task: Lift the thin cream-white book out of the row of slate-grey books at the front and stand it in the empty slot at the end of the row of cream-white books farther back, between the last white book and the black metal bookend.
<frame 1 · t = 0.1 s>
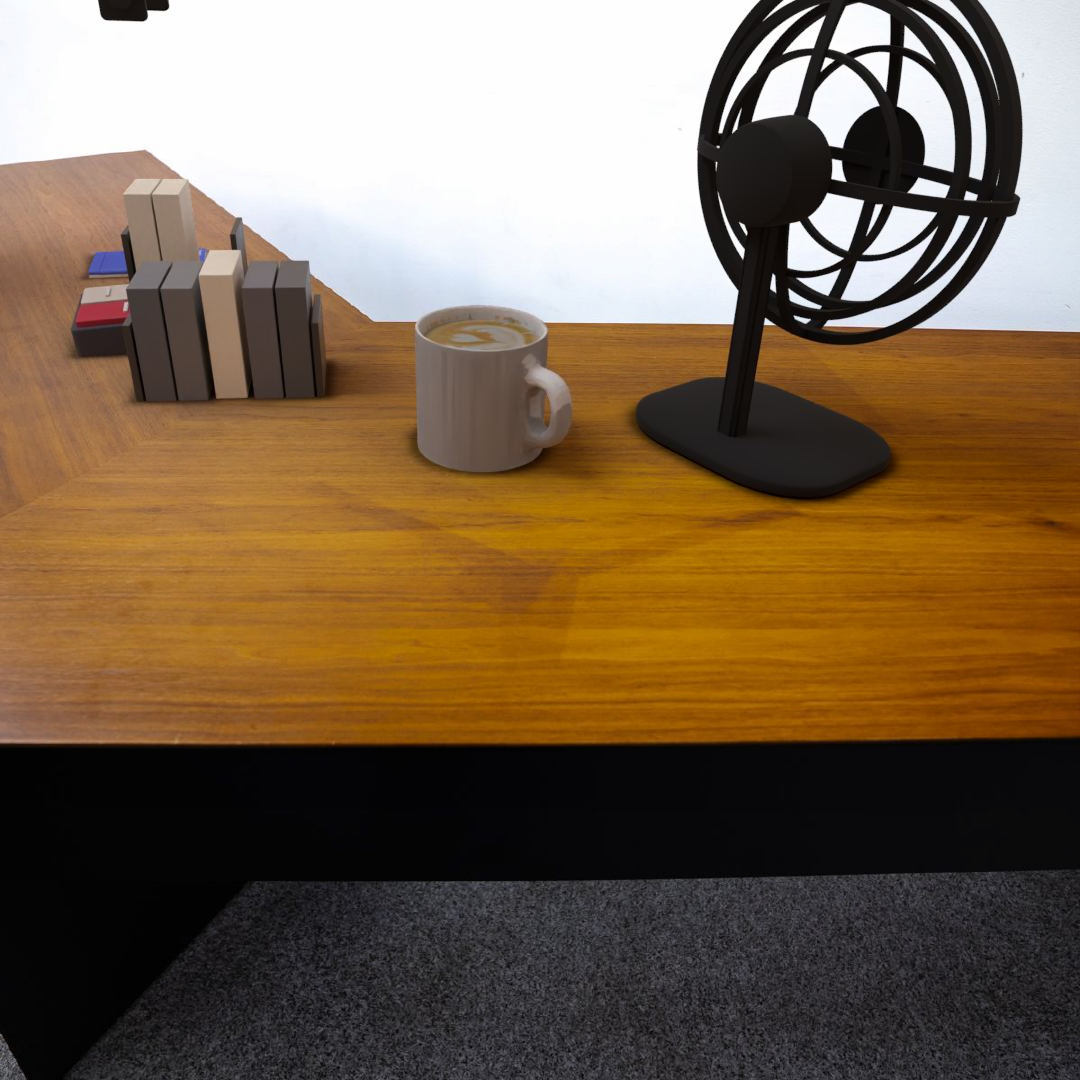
hand: (137, 15, 75), 28 cm above the table, tool pointing down, fingers open, 9 cm apart
grey books: (236, 386, 86), on the table
white books: (186, 290, 108), on the table
coffee mug: (493, 457, 77), on the table
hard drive: (152, 273, 114), on the table
desk fan: (766, 442, 82), on the table
white book: (236, 386, 86), on the table
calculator: (166, 337, 96), on the table
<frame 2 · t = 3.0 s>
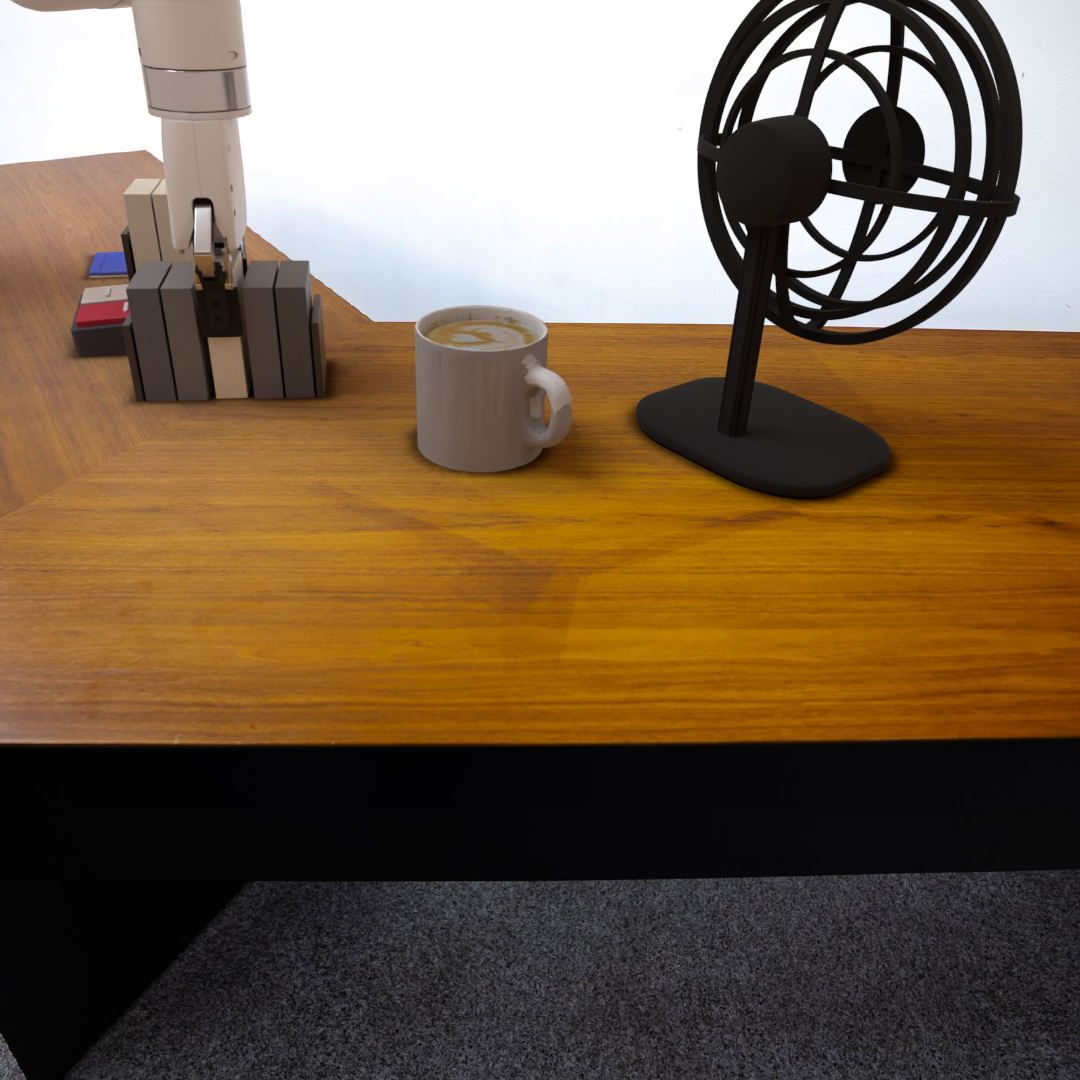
hand: (227, 318, 83), 6 cm above the table, tool pointing down, fingers closed on white book, 7 cm apart
white book: (236, 386, 86), on the table, touching gripper
everything else where it was.
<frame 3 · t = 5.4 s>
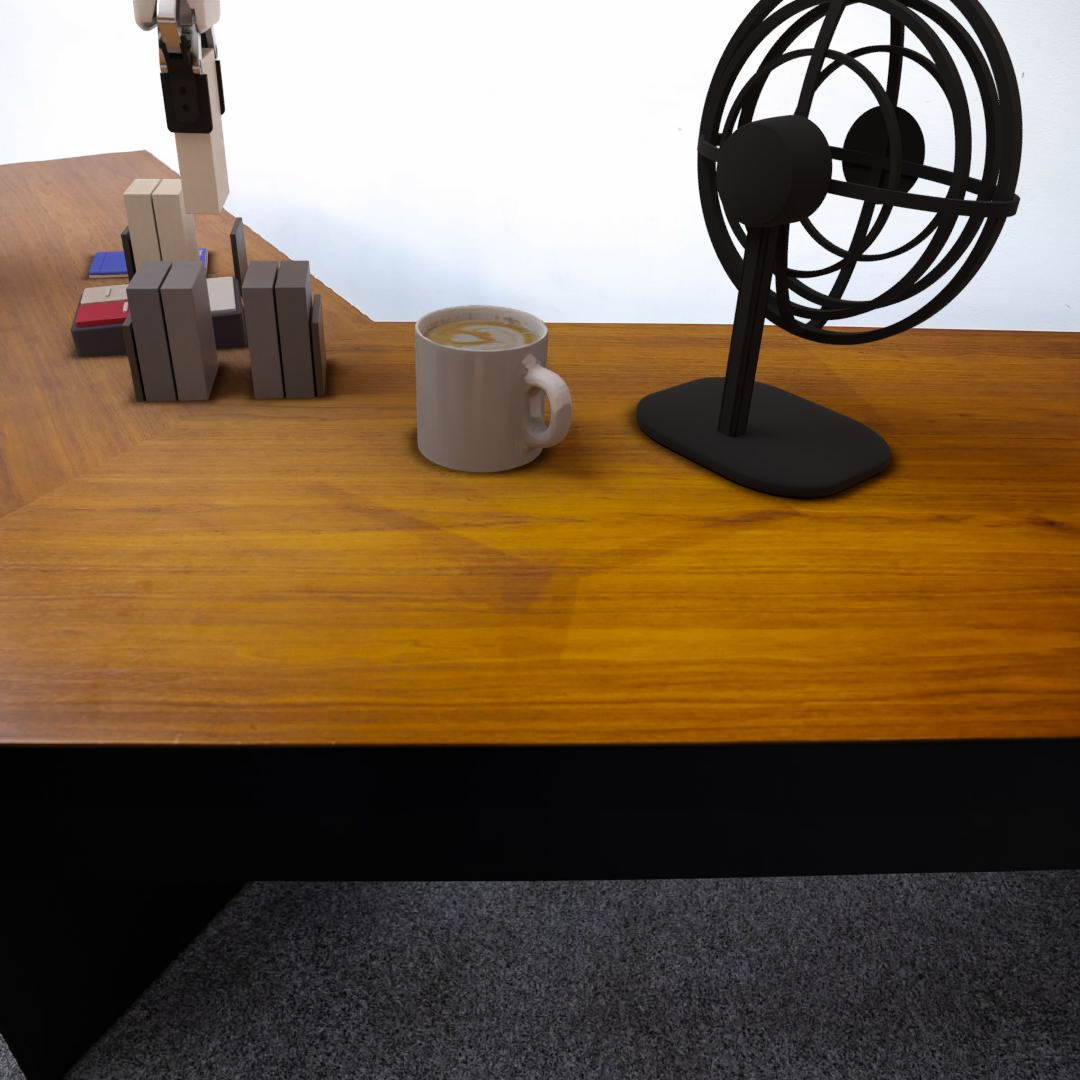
hand: (198, 121, 76), 22 cm above the table, tool pointing down, fingers closed on white book, 7 cm apart
white book: (208, 203, 79), point 15 cm above the table, touching gripper
everything else where it was.
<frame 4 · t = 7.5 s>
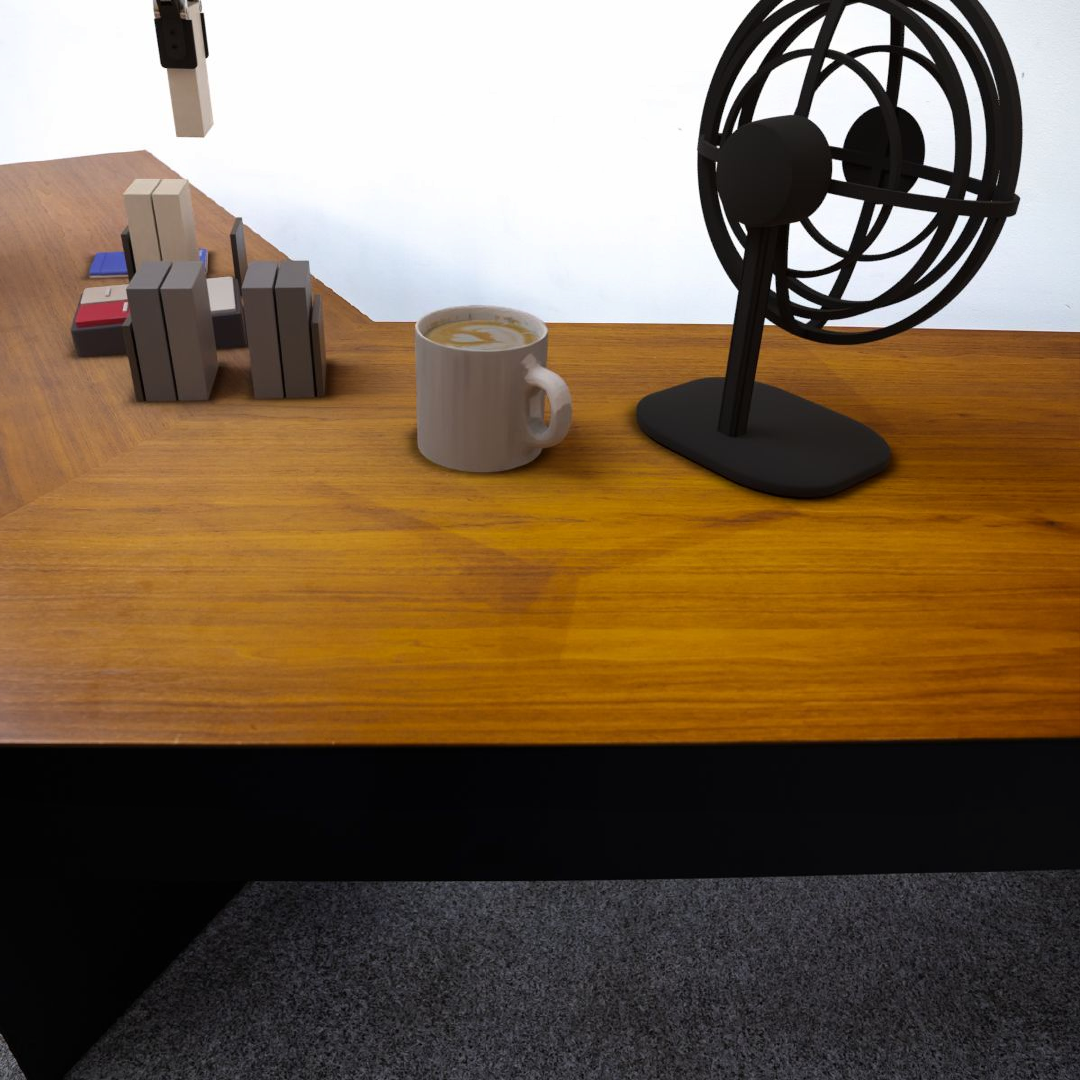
hand: (185, 61, 93), 23 cm above the table, tool pointing down, fingers closed on white book, 7 cm apart
white book: (195, 130, 97), point 17 cm above the table, touching gripper
everything else where it was.
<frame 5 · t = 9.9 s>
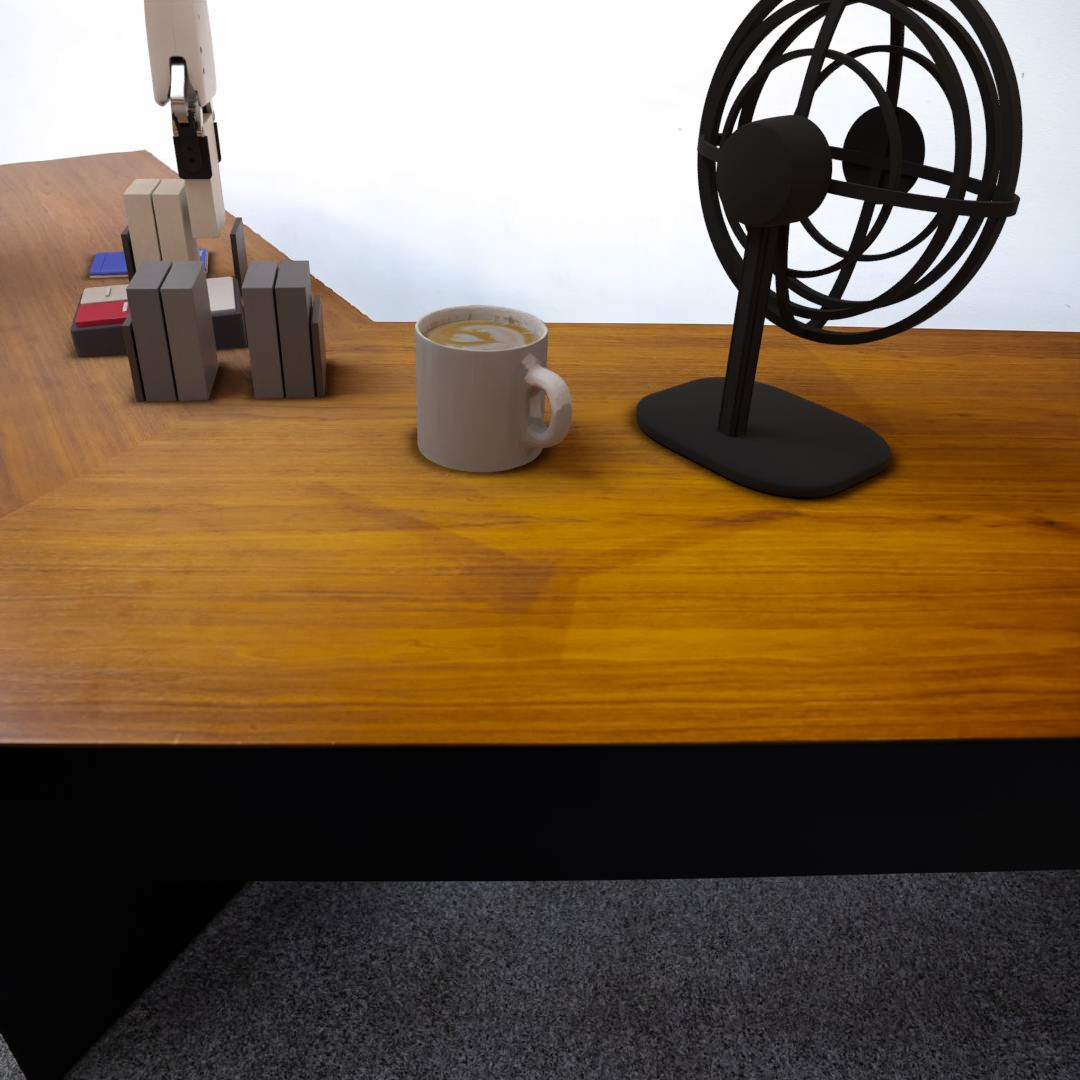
hand: (201, 168, 101), 13 cm above the table, tool pointing down, fingers closed on white book, 7 cm apart
white book: (210, 229, 105), point 7 cm above the table, touching gripper
everything else where it was.
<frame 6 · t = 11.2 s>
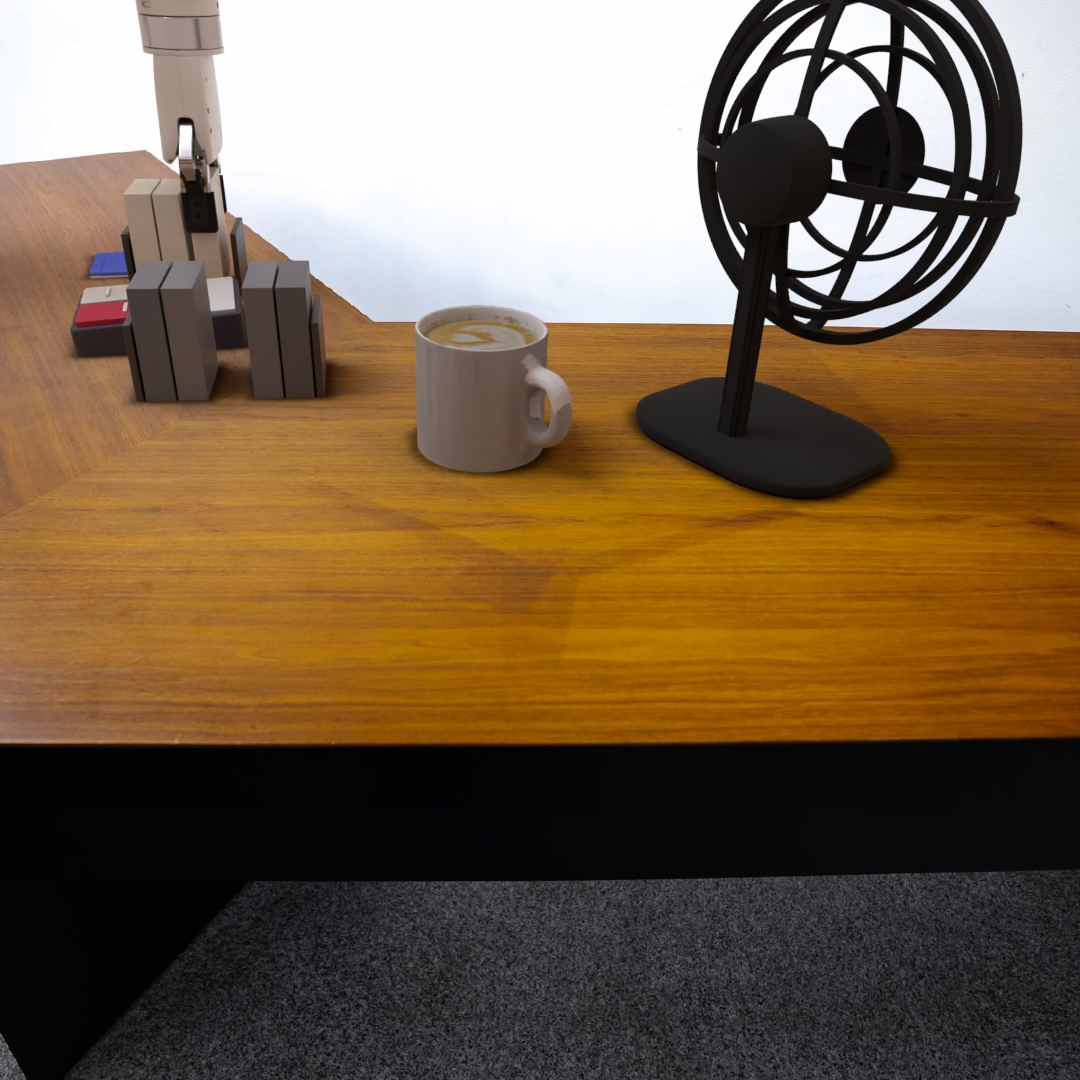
hand: (207, 221, 104), 7 cm above the table, tool pointing down, fingers closed on white book, 7 cm apart
white book: (215, 278, 108), point 1 cm above the table, touching gripper
everything else where it was.
when the fingers open (6 cm above the table, at t = 12.1 s): white book stays where it is, on the table.
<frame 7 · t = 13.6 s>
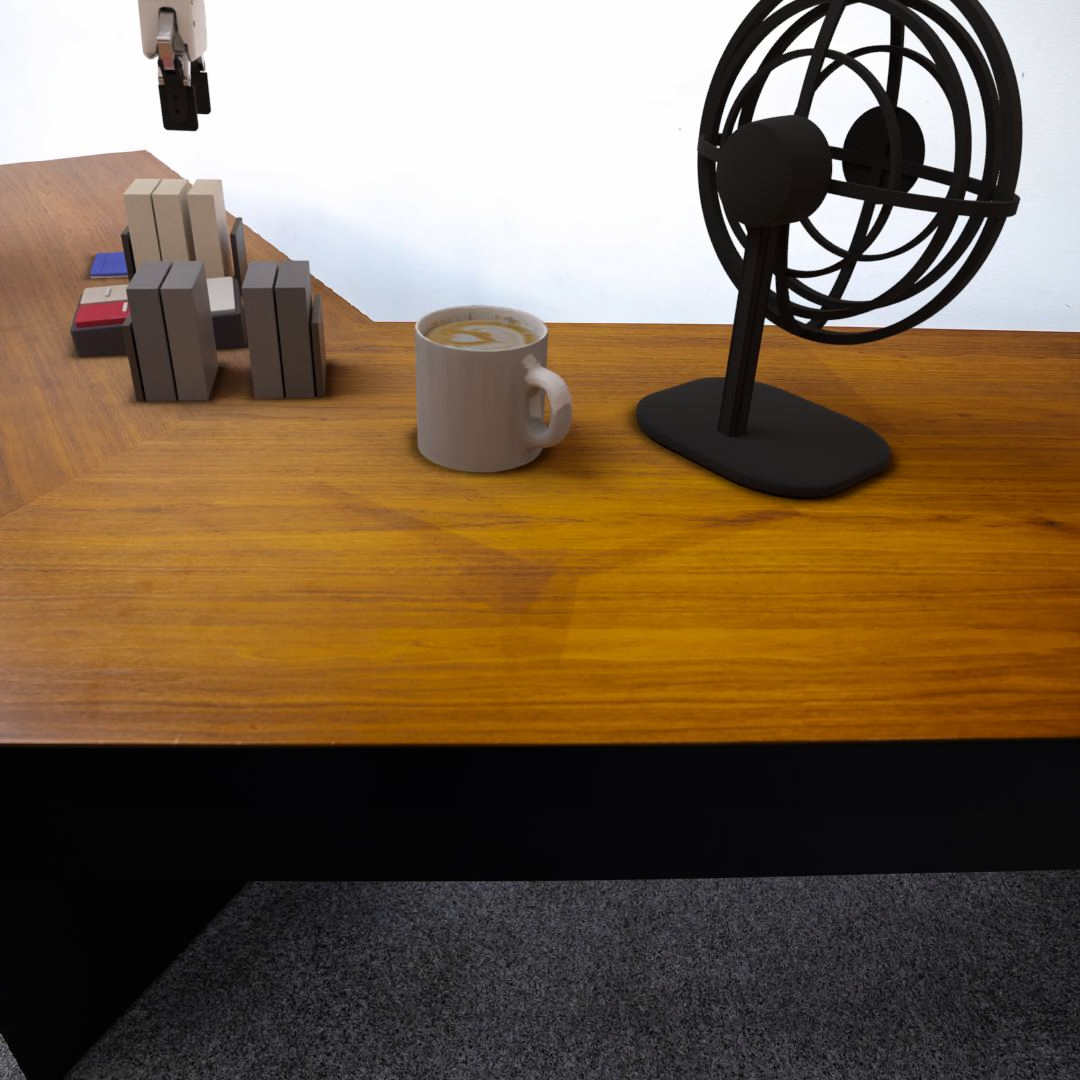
hand: (188, 121, 99), 17 cm above the table, tool pointing down, fingers open, 9 cm apart
white book: (218, 289, 108), on the table
everything else where it was.
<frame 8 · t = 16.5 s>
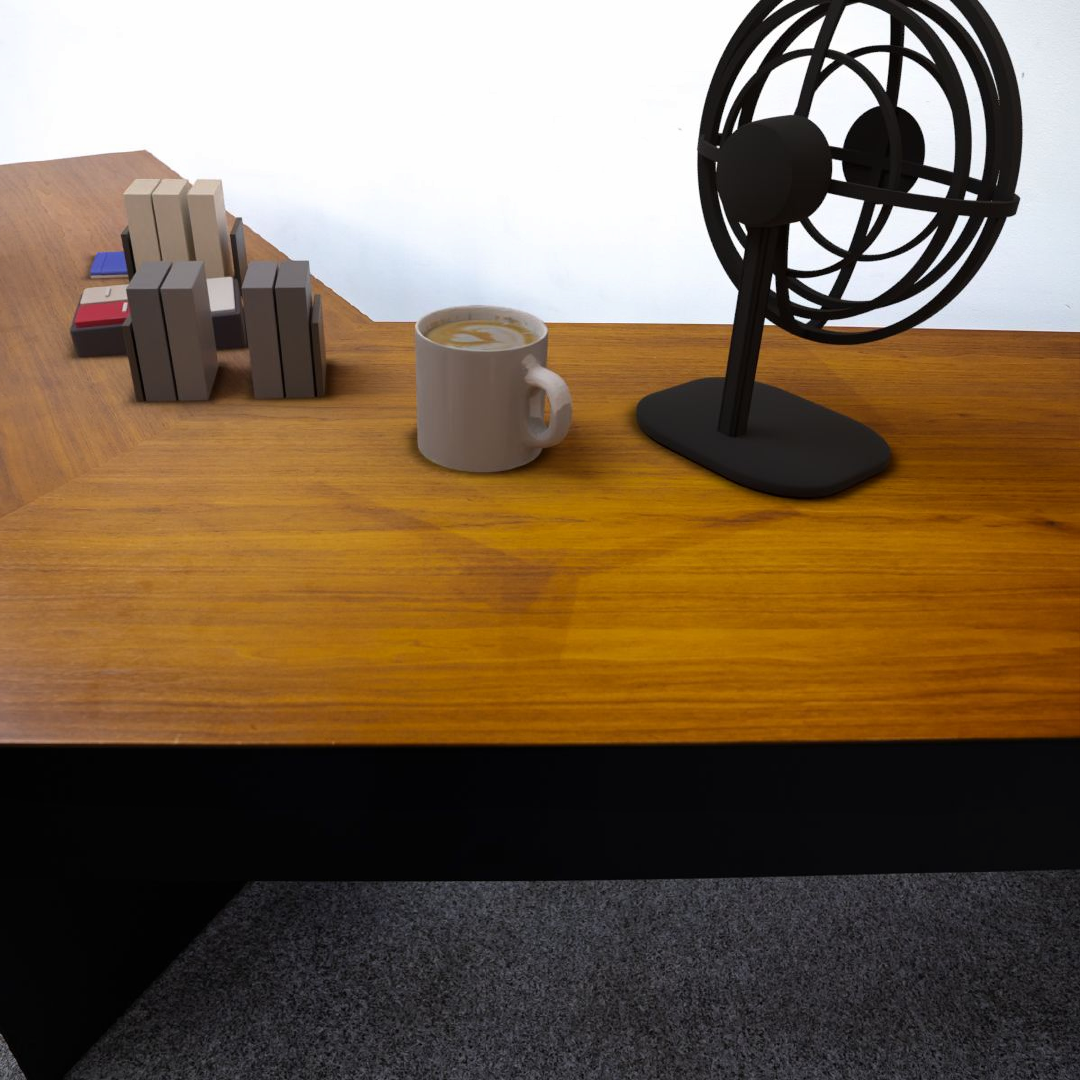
nothing on the table moved.
at the end: white book 0.2 cm from the target spot on the white books, point 0.0 cm above the white books's base; white book tilted 0° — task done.
